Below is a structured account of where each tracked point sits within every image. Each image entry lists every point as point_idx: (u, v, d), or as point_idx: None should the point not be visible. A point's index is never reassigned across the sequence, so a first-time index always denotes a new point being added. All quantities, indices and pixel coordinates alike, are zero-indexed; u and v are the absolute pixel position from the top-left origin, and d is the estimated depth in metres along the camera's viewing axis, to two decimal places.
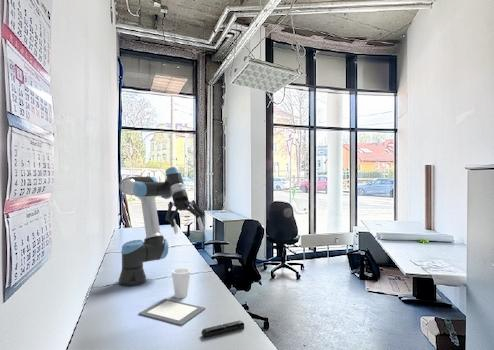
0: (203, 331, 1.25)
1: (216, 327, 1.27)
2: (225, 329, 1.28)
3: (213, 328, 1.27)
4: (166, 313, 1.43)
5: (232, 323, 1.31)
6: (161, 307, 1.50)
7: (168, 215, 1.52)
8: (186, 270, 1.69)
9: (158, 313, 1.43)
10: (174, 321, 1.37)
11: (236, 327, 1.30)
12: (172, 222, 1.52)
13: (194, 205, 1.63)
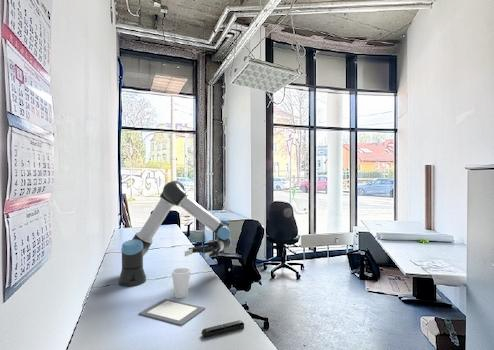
0: (203, 331, 1.25)
1: (216, 327, 1.27)
2: (225, 329, 1.28)
3: (213, 328, 1.27)
4: (166, 313, 1.43)
5: (232, 323, 1.31)
6: (161, 307, 1.50)
7: None
8: (186, 270, 1.69)
9: (158, 313, 1.43)
10: (174, 321, 1.37)
11: (236, 327, 1.30)
12: None
13: None
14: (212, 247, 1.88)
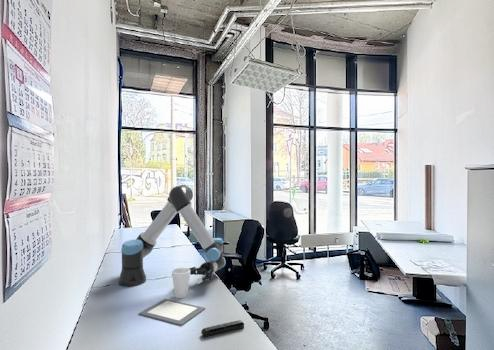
0: (203, 331, 1.26)
1: (216, 327, 1.28)
2: (225, 329, 1.28)
3: (213, 328, 1.27)
4: (166, 313, 1.43)
5: (232, 323, 1.31)
6: (161, 307, 1.50)
7: None
8: (186, 270, 1.69)
9: (158, 313, 1.43)
10: (174, 321, 1.37)
11: (236, 327, 1.31)
12: None
13: None
14: (205, 269, 1.80)
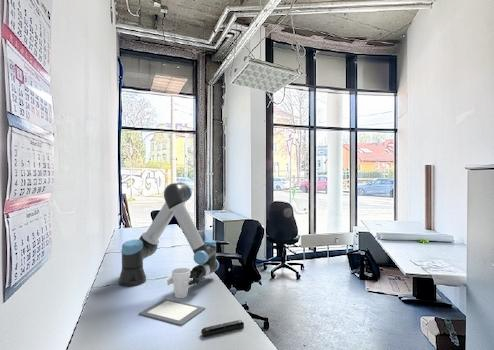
0: (203, 330, 1.26)
1: (216, 326, 1.28)
2: (225, 328, 1.29)
3: (213, 327, 1.27)
4: (166, 313, 1.43)
5: (232, 322, 1.31)
6: (161, 307, 1.50)
7: None
8: (186, 270, 1.69)
9: (158, 313, 1.43)
10: (174, 321, 1.37)
11: (236, 326, 1.31)
12: None
13: None
14: (196, 273, 1.73)
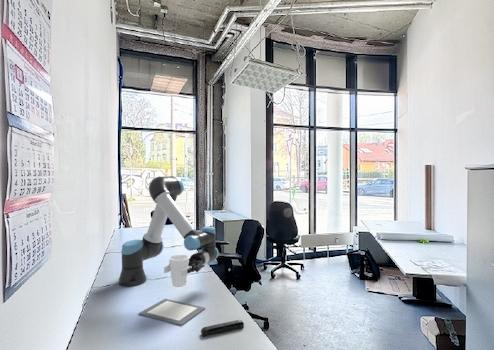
0: (202, 330, 1.26)
1: (215, 326, 1.28)
2: (224, 328, 1.29)
3: (212, 327, 1.28)
4: (166, 313, 1.43)
5: (232, 322, 1.32)
6: (161, 307, 1.50)
7: None
8: (184, 257, 1.56)
9: (158, 313, 1.43)
10: (174, 321, 1.37)
11: (235, 326, 1.31)
12: None
13: None
14: (195, 260, 1.61)
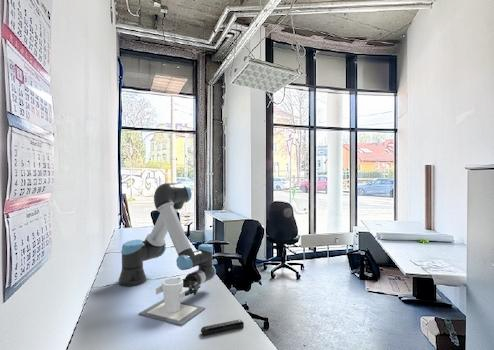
0: (202, 329, 1.27)
1: (215, 325, 1.29)
2: (224, 328, 1.29)
3: (212, 326, 1.28)
4: (166, 313, 1.43)
5: (231, 322, 1.32)
6: (161, 307, 1.50)
7: None
8: (178, 281, 1.51)
9: (158, 313, 1.43)
10: (174, 321, 1.37)
11: (235, 326, 1.31)
12: None
13: None
14: (190, 281, 1.55)
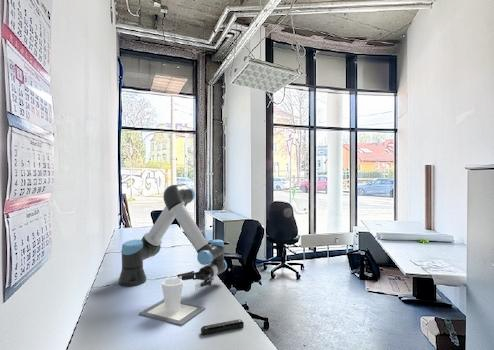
0: (202, 328, 1.27)
1: (215, 325, 1.29)
2: (224, 327, 1.30)
3: (212, 326, 1.28)
4: (166, 313, 1.43)
5: (231, 321, 1.32)
6: (161, 307, 1.50)
7: None
8: (178, 281, 1.50)
9: (158, 313, 1.43)
10: (174, 321, 1.37)
11: (235, 326, 1.31)
12: None
13: None
14: (204, 274, 1.66)
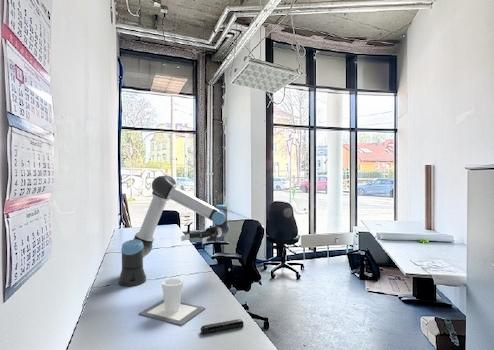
0: (202, 328, 1.28)
1: (215, 324, 1.30)
2: (224, 327, 1.30)
3: (212, 325, 1.29)
4: (166, 313, 1.43)
5: (231, 321, 1.32)
6: (161, 307, 1.50)
7: None
8: (178, 281, 1.50)
9: (158, 313, 1.43)
10: (174, 321, 1.37)
11: (235, 325, 1.32)
12: (209, 240, 1.72)
13: None
14: (210, 232, 1.81)
